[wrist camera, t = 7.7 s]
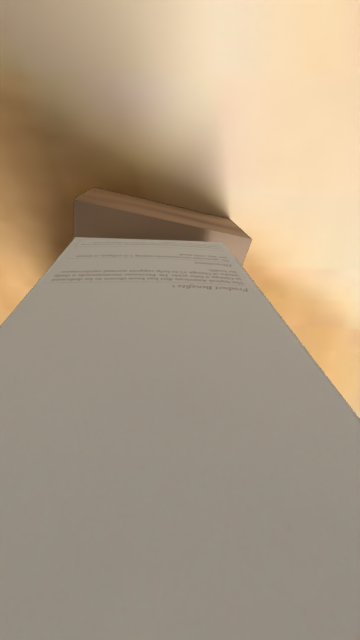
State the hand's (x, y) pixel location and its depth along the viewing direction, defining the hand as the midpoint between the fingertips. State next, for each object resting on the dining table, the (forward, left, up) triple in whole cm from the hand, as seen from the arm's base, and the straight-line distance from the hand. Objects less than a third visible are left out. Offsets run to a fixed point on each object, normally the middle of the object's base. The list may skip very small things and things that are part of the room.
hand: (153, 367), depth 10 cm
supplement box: (0, 0, -5) cm, 5 cm away
